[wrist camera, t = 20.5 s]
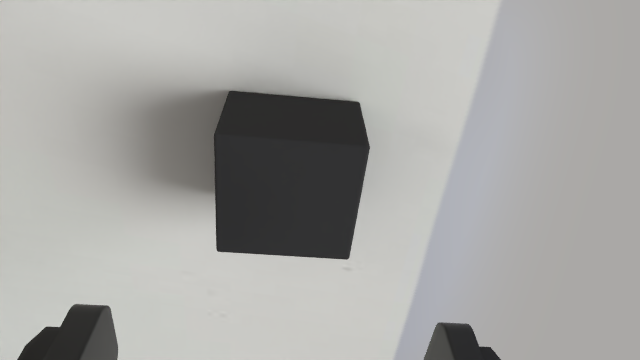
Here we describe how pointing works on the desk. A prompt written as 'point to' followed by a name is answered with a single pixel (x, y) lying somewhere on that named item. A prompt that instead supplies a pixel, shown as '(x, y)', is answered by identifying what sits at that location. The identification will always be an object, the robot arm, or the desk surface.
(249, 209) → the black cube-like block
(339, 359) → the desk surface
